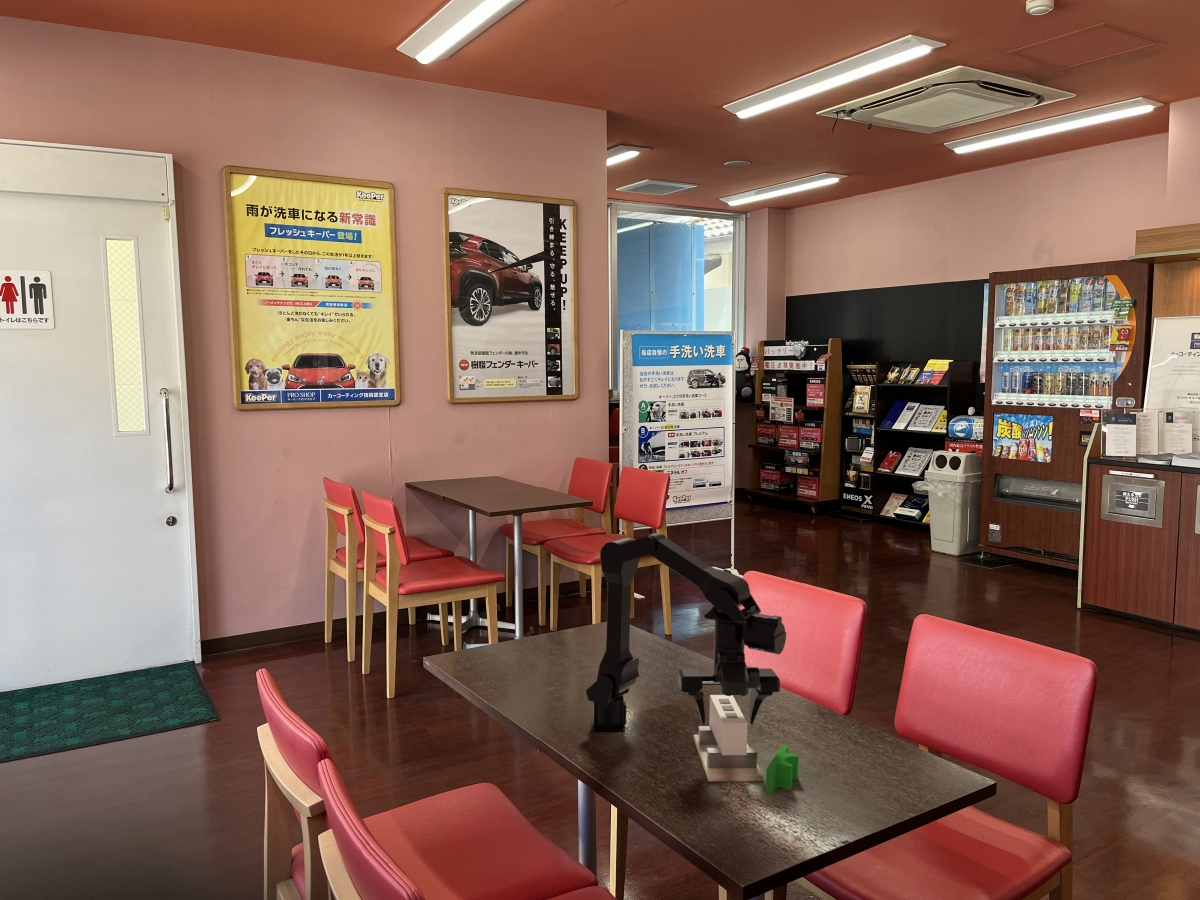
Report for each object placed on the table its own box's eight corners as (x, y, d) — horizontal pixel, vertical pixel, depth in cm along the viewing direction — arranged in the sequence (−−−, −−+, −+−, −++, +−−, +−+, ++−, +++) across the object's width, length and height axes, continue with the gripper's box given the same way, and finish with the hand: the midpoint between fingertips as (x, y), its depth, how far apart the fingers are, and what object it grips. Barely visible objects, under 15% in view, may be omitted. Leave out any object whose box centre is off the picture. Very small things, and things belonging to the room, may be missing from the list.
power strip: (722, 755, 154) (723, 722, 153) (709, 724, 168) (710, 694, 167) (746, 755, 154) (747, 722, 154) (731, 724, 168) (732, 693, 168)
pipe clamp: (786, 798, 147) (787, 773, 146) (765, 793, 148) (766, 768, 148) (801, 772, 157) (802, 748, 156) (782, 767, 158) (782, 744, 158)
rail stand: (708, 781, 152) (708, 760, 152) (693, 739, 170) (693, 720, 170) (763, 781, 153) (763, 759, 152) (742, 739, 170) (742, 720, 170)
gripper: (686, 657, 151) (684, 741, 152) (789, 657, 152) (786, 741, 153) (678, 639, 162) (676, 717, 163) (773, 639, 163) (771, 717, 164)
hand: (727, 723), depth 161 cm, fingers open, 9 cm apart
